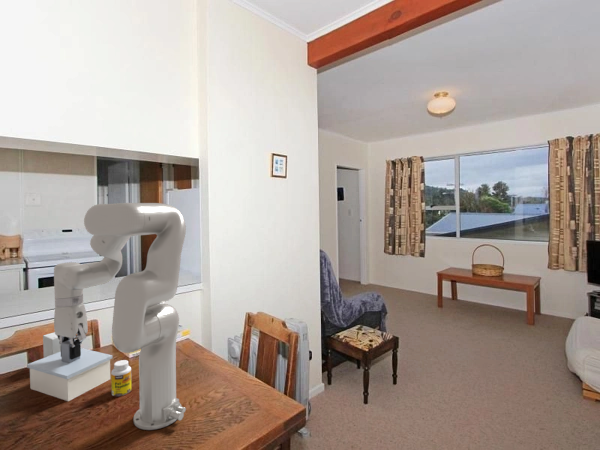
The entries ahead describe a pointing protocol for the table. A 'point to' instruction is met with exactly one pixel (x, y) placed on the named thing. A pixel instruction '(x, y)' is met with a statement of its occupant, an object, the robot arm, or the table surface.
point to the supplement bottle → (121, 378)
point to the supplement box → (51, 344)
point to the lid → (69, 362)
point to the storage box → (70, 382)
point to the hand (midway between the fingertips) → (70, 355)
